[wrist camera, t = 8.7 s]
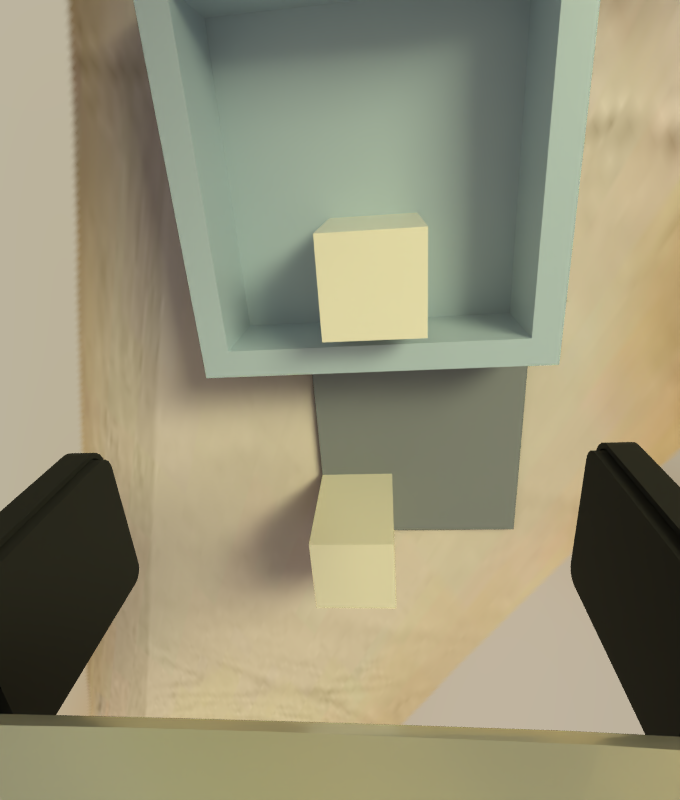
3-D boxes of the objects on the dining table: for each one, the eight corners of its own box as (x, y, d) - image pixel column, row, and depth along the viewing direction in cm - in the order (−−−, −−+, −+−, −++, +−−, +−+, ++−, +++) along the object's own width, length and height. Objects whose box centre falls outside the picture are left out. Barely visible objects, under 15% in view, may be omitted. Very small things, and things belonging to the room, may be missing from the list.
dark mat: (311, 358, 27) (311, 361, 26) (527, 350, 26) (528, 352, 25) (328, 527, 31) (328, 530, 31) (512, 525, 30) (513, 529, 30)
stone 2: (322, 474, 29) (308, 544, 24) (392, 473, 29) (394, 544, 24) (328, 530, 31) (316, 607, 26) (394, 529, 31) (396, 608, 25)
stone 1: (329, 218, 23) (312, 233, 18) (417, 212, 23) (428, 226, 17) (335, 304, 25) (322, 342, 19) (417, 300, 25) (427, 338, 19)
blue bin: (174, -12, 21) (122, -57, 16) (564, -58, 19) (613, -120, 15) (233, 346, 27) (206, 378, 23) (530, 332, 25) (559, 364, 21)
